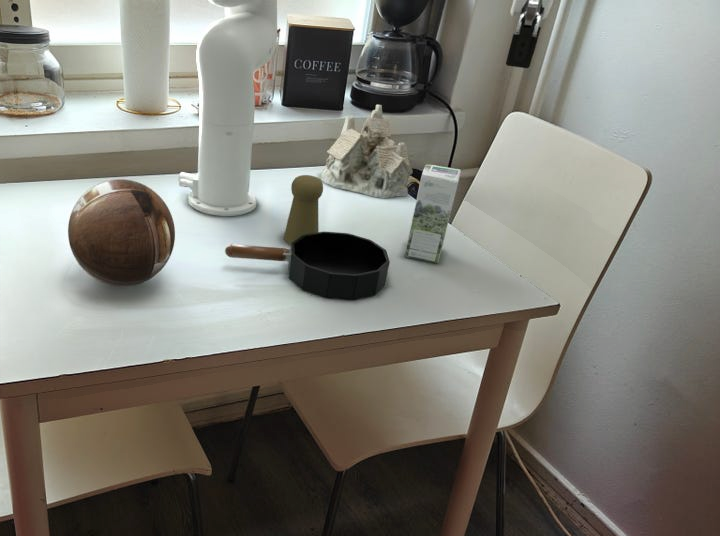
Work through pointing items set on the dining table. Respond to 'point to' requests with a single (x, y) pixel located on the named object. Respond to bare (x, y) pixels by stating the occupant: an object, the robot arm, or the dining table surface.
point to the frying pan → (327, 264)
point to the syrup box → (432, 212)
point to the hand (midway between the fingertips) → (519, 60)
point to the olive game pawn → (303, 207)
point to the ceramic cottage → (368, 159)
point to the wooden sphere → (121, 232)
